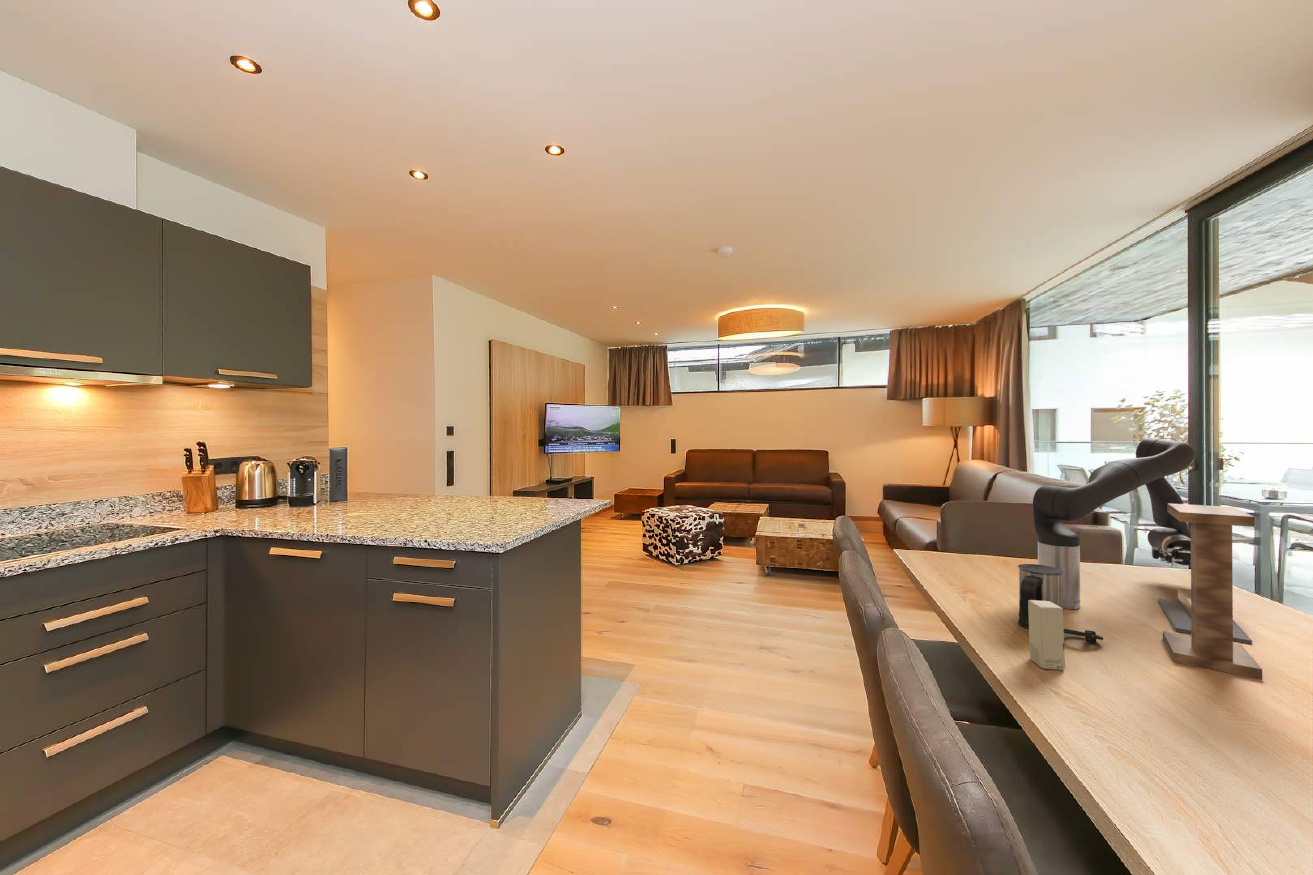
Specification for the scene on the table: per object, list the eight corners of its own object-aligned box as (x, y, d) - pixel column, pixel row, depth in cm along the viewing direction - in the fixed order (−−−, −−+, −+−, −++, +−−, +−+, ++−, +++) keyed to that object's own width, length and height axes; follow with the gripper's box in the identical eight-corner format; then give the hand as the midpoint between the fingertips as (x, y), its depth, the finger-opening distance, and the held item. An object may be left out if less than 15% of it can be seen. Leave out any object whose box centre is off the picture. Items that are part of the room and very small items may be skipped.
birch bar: (1197, 624, 120) (1197, 612, 120) (1178, 598, 138) (1177, 587, 138) (1216, 627, 118) (1216, 615, 118) (1193, 600, 137) (1193, 589, 137)
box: (1066, 671, 100) (1065, 608, 100) (1041, 669, 101) (1041, 607, 101) (1050, 659, 105) (1050, 600, 105) (1027, 657, 106) (1027, 599, 106)
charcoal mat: (1175, 631, 118) (1175, 627, 118) (1158, 601, 138) (1158, 598, 138) (1252, 643, 111) (1252, 640, 111) (1221, 610, 131) (1221, 607, 131)
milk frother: (1017, 616, 129) (1017, 561, 129) (1097, 630, 120) (1097, 570, 119) (1017, 635, 118) (1016, 574, 118) (1105, 652, 108) (1105, 585, 108)
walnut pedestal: (1174, 662, 103) (1173, 511, 102) (1162, 638, 114) (1161, 502, 114) (1263, 680, 95) (1262, 517, 95) (1240, 652, 107) (1239, 507, 106)
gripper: (1147, 533, 147) (1155, 543, 135) (1217, 539, 138) (1233, 551, 126) (1147, 558, 147) (1155, 570, 135) (1217, 566, 138) (1233, 580, 126)
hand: (1193, 561), depth 130 cm, fingers open, 8 cm apart
